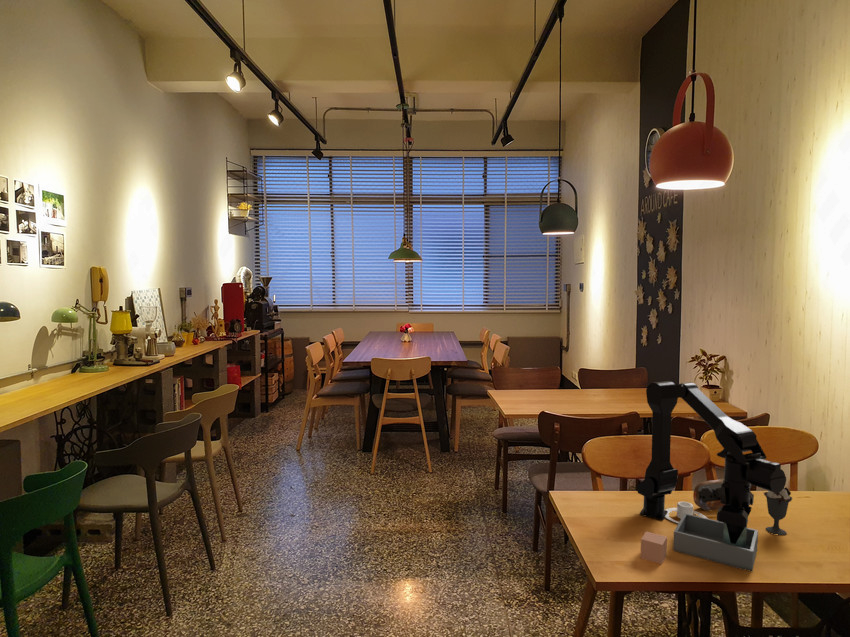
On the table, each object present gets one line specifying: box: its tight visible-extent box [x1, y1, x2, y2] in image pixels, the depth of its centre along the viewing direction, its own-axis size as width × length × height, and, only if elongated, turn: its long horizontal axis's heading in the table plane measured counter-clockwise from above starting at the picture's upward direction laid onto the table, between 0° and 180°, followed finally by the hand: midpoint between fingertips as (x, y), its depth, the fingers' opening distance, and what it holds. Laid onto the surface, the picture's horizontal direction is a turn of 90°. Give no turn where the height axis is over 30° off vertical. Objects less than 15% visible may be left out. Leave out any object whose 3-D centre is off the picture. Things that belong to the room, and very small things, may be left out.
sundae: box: [763, 486, 793, 536], centre depth 149 cm, size 7×7×15 cm
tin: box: [692, 478, 724, 512], centre depth 165 cm, size 15×3×8 cm, turn 105°
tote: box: [672, 513, 759, 572], centre depth 139 cm, size 13×17×5 cm
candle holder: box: [664, 501, 709, 524], centre depth 158 cm, size 12×12×4 cm
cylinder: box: [723, 523, 748, 548], centre depth 137 cm, size 5×5×7 cm
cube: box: [640, 531, 668, 565], centre depth 136 cm, size 5×5×5 cm
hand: (734, 539), depth 137 cm, fingers closed on cylinder, 5 cm apart
